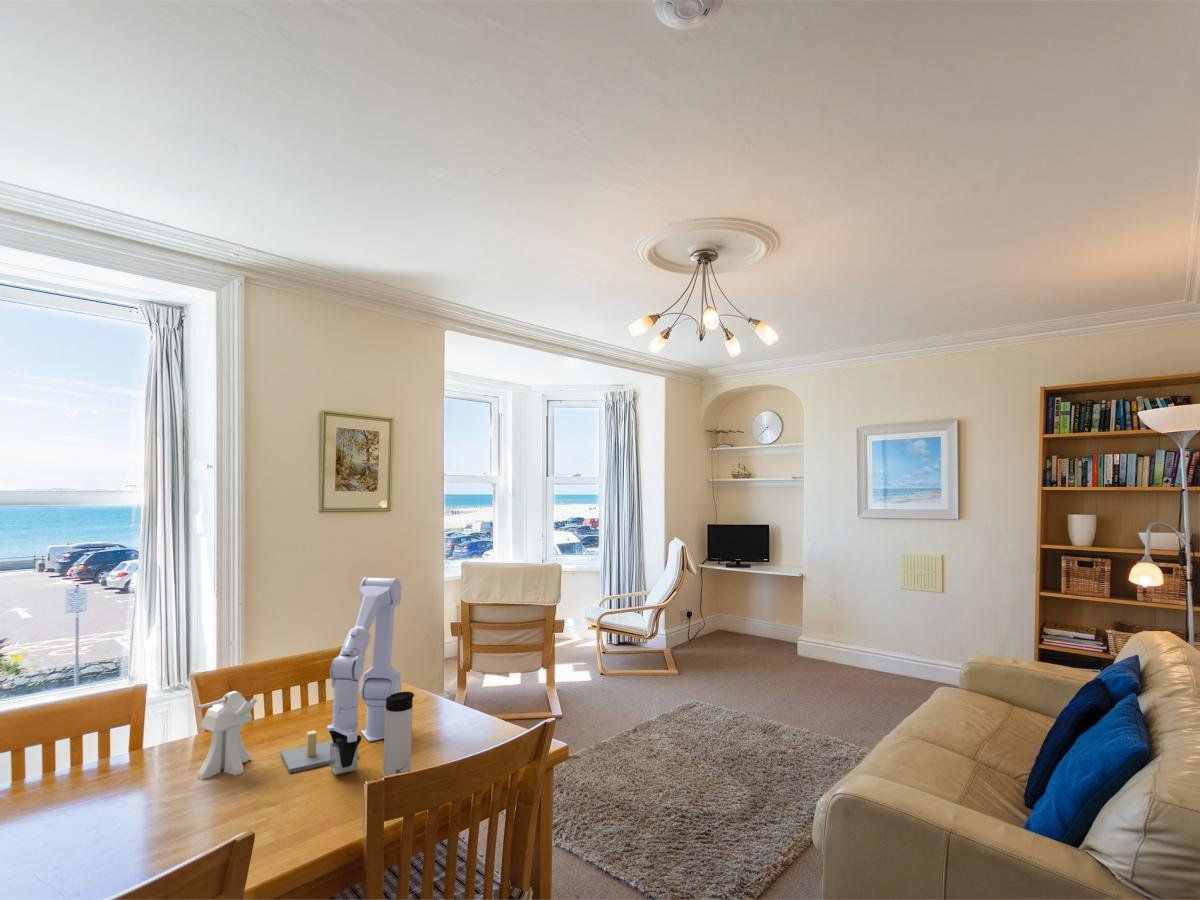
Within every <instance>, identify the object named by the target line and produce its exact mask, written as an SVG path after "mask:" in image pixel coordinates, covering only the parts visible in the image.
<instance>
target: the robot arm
mask: <svg viewBox="0 0 1200 900" xmlns="http://www.w3.org/2000/svg"><path fill="white" fill-rule="evenodd" d="M358 591H359V598H360V599H359V600H360V603H361V604H360V607H359V611H358V615H357V618H356V621H355V626H354V627H352V628H351V629H349V630H348V631H347V635H346V636H345V639H344V642H343V645H342V647H341V649H340V653H339V655H337V656H335V657H334V658H333V660H332V661H331V663H330V670H329V676H330V677H329V678H330V679H331V687H332V688H333V699H332V700H333V701H332V703H333V704H332V706H333V707H332V723H331V724H328V725H327V727H326V729H327V731H328V733H329V734H330V736H331V739H332V740H331V741H333V743H336V742H337V744H338V747H339V751H340V759H341V765H342V768H345V767H349V766H351V765H352V762H353V759H354V755H355V751H356V749H357V746H358V747H359V744H360V743H361V741H362V736H361V735H360V734H359V735H358V732H357V731H358V727H359V718H358V717H359V695H360V698H361V700H362V701H364V705H366V717H365V718H366V719H365V720H366V721H365V723H366V724H365V729H362V730H360V733H361V734H362V735H363V737H365V740H366V741H368V742H369V743H370V742H375V741H378V740H379V741H380V740H383V739H384V737H385V711H386V710H385V709H386V698H387V697H389V696H391V695H392V694H395V693H399V692H402V680H401V672H400V671H399V670H398V669H396V668H395V667H393V665H392V652H393V651H392V650H393V649H392V648H393V637H394V636H393V635H394V634H393V633H394V620H395V610H396V609H395V607H398V606H401V598H402V583H401V581H400V579H399V578H398V577H393V578H390V577H389V578H388V577H368V576H365V577H364V578H363V579H362V580H361V581H360V585H359V590H358ZM374 620H375V622H374ZM373 622H374V624H375V625H374V637H373V638H374V641H373V657H372V666H371V667H370V668H369V669H367V670H366V671H365V672H364V668H365V661H366V657H365V654H366V652H367V649H368V646H369V643H370V641H371V637H372V636H371V633H370V632H369V630H370V629H371V627H372V624H373ZM362 675H363V676H362ZM361 678H362V680H361V681H362V682H361V685H360V679H361Z"/></svg>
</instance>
